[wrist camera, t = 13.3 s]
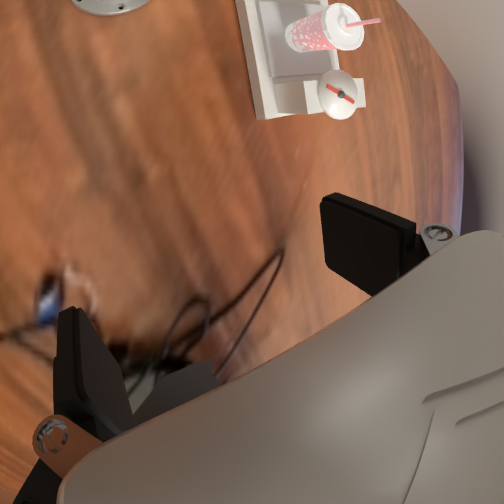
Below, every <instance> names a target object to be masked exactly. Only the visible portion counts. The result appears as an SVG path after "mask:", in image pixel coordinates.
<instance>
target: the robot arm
mask: <svg viewBox="0 0 504 504" xmlns="http://www.w3.org/2000/svg"><path fill="white" fill-rule="evenodd" d="M149 1H150V0H82V1H80V2H78V0H71V2H72V3H73V4H74V5H75V6H76V7H77V8H78V9H80V10H82V11H84V12H86V13H89V14H93V15H98V16H115V15H120V14H125V13H128V12H131V11H134V10H136V9H138V8H140V7H142V6H143V5H145V4H146V3H148V2H149ZM119 8H123V9H122V10H120V9H119ZM320 215H321V224H322V233H323V243H324V254H325V262H326V265H327V266H328V268H329V269H331V270H332V271H334V272H335V273H337V274H339V275H340V276H342V277H343V278H345V279H346V280H348V281H349V282H351V283H352V284H354V285H355V286H357V287H358V288H360V289H361V290H363V291H364V292H366V293H367V294H369V295H370V296H372V297H371V298H369V299H368V300H366V301H365V302H363V303H362V304H360V305H359V306H357V307H356V308H354V309H353V310H351V311H350V312H348V313H347V314H345V315H344V316H342V317H340V318H339V319H337V320H336V321H334V322H333V323H331V324H329V325H328V326H326V327H325V328H323V329H321V330H320V331H318V332H316V333H315V334H313V335H312V336H310V337H308V338H307V339H305V340H303V341H302V342H300V343H298V344H296V345H295V346H293V347H291V348H290V349H288V350H286V351H284V352H283V353H281V354H279V355H277V356H276V357H274V358H272V359H270V360H269V361H267V362H265V363H263V364H261V365H260V366H258V367H256V368H254V369H252V370H250V371H249V372H247V373H245V374H243V375H241V376H239V377H237V378H235V379H234V380H232V381H230V382H228V383H226V384H224V385H222V386H220V387H218V388H216V389H214V390H212V391H210V392H208V393H206V394H204V395H202V396H200V397H198V398H196V399H194V400H191V401H189V402H187V403H186V404H183V405H181V406H179V407H177V408H175V409H173V410H170V411H168V412H166V413H164V414H162V415H160V416H158V417H155V418H153V419H151V420H149V421H147V422H145V423H143V424H140V425H138V426H136V424H135V421H134V417H133V414H132V410H131V407H130V403H129V400H128V396H127V392H126V388H125V384H124V380H123V376H122V372H121V369H120V367H119V365H118V363H117V361H116V360H115V359H114V357H113V356H112V354H111V353H110V351H109V350H108V348H107V347H106V345H105V344H104V343H103V341H102V340H101V338H100V336H99V335H98V333H97V332H96V330H95V329H94V327H93V326H92V324H91V322H90V321H89V319H88V318H87V316H86V314H85V313H84V311H83V310H82V308H78V309H76V308H75V307H74V306H72V307H70V308H68V309H65V310H63V311H61V312H59V317H58V332H57V356H56V357H55V358H54V361H53V402H54V415H51V416H48V417H47V418H45V419H44V420H42V421H41V423H40V424H39V425H38V426H37V428H36V430H35V432H34V435H33V443H32V444H33V448H34V451H35V453H36V454H37V456H38V457H39V460H38V461H37V463H36V464H35V466H34V468H33V469H32V471H31V473H30V474H29V476H28V478H27V479H26V481H25V483H24V484H23V486H22V488H21V489H20V491H19V493H18V495H17V496H16V498H15V500H14V502H13V504H504V235H502V234H499V233H497V232H493V231H489V230H486V231H485V230H484V231H476V232H472V233H469V234H465V235H463V236H461V237H459V236H458V235H457V233H456V232H455V231H454V230H453V229H452V228H451V227H449V226H446V225H443V224H436V223H432V224H427V225H424V226H423V227H422V228H421V229H420V235H419V234H417V233H416V223H415V222H412V221H410V220H407V219H405V218H402V217H400V216H398V215H395V214H393V213H390V212H388V211H385V210H382V209H380V208H377V207H375V206H372V205H370V204H367V203H364V202H362V201H359V200H356V199H354V198H351V197H348V196H345V195H343V194H340V193H336V192H335V193H332V194H330V195H327V196H325V197H323V198H322V202H321V203H320Z"/></svg>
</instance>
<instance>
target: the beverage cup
mask: <svg viewBox="0 0 504 504" xmlns="http://www.w3.org/2000/svg"><path fill="white" fill-rule="evenodd" d="M378 22H381V20H380V18H377V19H371V20H365V21H361V20H360V18H359V16H358V14H357V13H356V12H355V11H354V10H353V9H352V8H351V7H349V6H347V5H346V4H342V3H335V4H332V5H330V6H328V7H326V8H325V9H324V10H322V11H320V12H317V13H315V14H312V15H310V16H308V17H305V18H303V19H301V20H298V21H296V22H294V23H292V24H290V25H289V26H288V27H287V28H286V32H285V37H286V41H287V43H288V45H289V46H290V47H291V48H292V49H293V50H295V51H297V52H310V51H320V50H331V49H341V50H355V49H356V48H358V47H360V45H361V43H362V42H363V38H364V29H363V25H365V24H372V23H378Z"/></svg>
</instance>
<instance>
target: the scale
mask: <svg viewBox="0 0 504 504" xmlns="http://www.w3.org/2000/svg"><path fill="white" fill-rule="evenodd" d="M235 3H236V8H237V13H238V18H239V24H240V29H241V34H242V40H243V45H244V51H245V56H246V62H247V67H248V73H249V79H250V84H251V90H252V96H253V102H254V108H255V113H256V119H270V118H276V117H281V116H287V115H293V114H313V113H320V112H325V113H326V114H327V115H328V116H330V117H331V118H334V119H346V118H348V117H350V116H351V115H352V114H353V113H354V111H355V109H356V108H359V107H366V102H365V93H364V84H363V78H352V77H351V76H350V75H349V74H348V73H346V72H345V71H342V70H340V69H339V62H338V56H337V50H336V49H331V50H320V51H310V52H297V51H295V50H293V49H292V48H291V47H290V46H289V45H288V43H287V41H286V37H285V32H286V28H287V27H288V26H289V25H290V24H292V23H294V22H296V21H298V20H301V19H303V18H305V17H308V16H310V15H312V14H315V13H317V12H320V11H322V10H324V9H325V8H326V7H328V1H327V0H235Z"/></svg>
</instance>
